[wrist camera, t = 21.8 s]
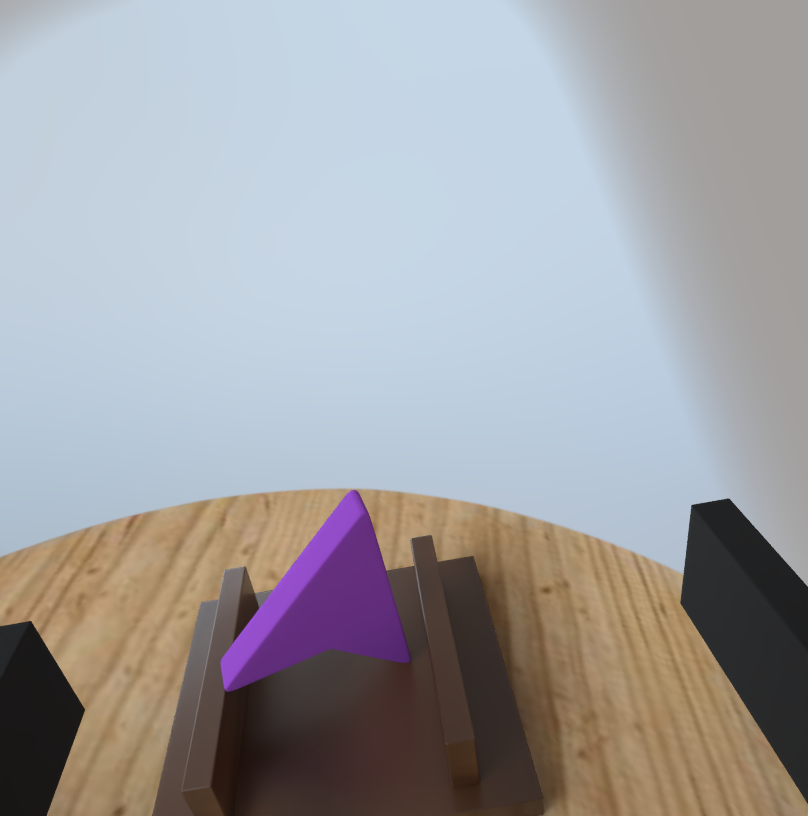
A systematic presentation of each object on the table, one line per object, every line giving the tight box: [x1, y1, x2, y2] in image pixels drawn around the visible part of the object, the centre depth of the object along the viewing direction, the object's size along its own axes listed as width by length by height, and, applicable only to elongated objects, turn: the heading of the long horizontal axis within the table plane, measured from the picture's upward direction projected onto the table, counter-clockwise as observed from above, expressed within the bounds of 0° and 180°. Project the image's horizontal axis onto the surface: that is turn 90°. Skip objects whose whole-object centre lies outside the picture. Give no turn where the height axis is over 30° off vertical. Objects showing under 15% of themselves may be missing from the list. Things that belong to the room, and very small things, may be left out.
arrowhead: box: [221, 490, 411, 692], centre depth 29 cm, size 10×2×10 cm, turn 108°
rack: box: [152, 535, 544, 816], centre depth 31 cm, size 16×14×4 cm
